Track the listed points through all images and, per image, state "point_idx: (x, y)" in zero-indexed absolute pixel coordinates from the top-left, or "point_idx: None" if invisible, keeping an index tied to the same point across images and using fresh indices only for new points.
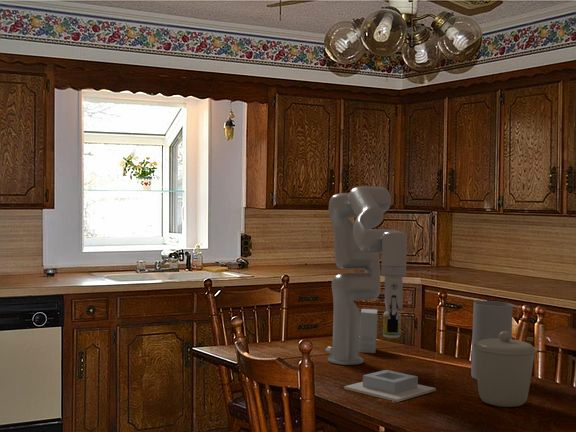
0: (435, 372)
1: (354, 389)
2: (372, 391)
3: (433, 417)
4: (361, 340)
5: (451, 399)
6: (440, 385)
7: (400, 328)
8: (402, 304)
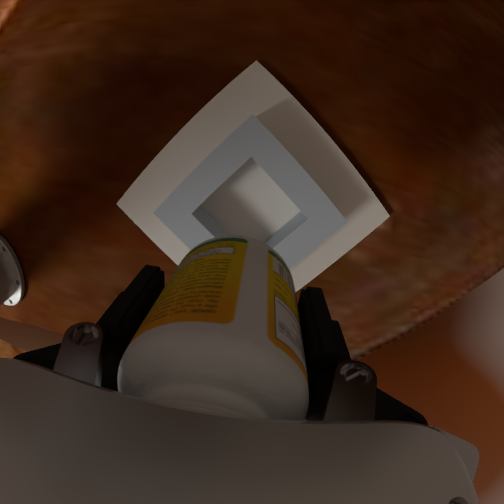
0: (46, 54)
1: None
2: (304, 268)
3: (493, 169)
4: None
5: (358, 50)
6: (184, 38)
7: (243, 258)
8: (464, 477)
